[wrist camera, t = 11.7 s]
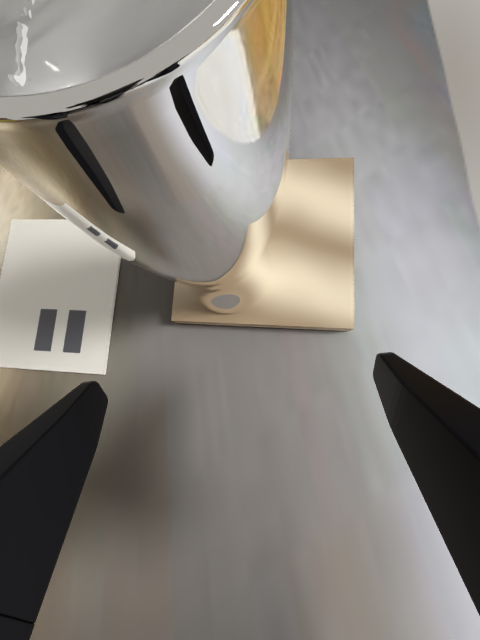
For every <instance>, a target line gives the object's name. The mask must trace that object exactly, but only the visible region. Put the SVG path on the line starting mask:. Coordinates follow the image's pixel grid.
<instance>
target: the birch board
mask: <svg viewBox="0 0 480 640" xmlns="http://www.w3.org/2000/svg"><path fill="white" fill-rule="evenodd" d="M266 246H267V248H268V250H269V253H270V256H271V259H272V277H271V281H270V284H269V286H268V288H267V290H266V292H265V293H264V295H263V296H262V297H261V298H260V299H259V300H258V301H257V302H256V303H255V304H254V305H252V306H251V307H249V308H247V309H245V310H243V311H240V312H236V313H229V314H223V313H216V312H212V311H210V310H207V309H205V308H204V307H202V306H201V305H199V304H198V303H197V302H196V301H195V300H194V299H193V298H192V296H191V295H190V293H189V292H188V290H187V288H186V286H185V285H184V284H181V283H177V282H175V286H174V296H173V306H172V316H171V321H173V322H176V323H185V324H207V325H229V326H251V327H272V328H294V329H316V330H337V331H350V330H353V329H354V158H325V159H291V160H288V166H287V174H286V182H285V188H284V192H283V196H282V200H281V203H280V207H279V211H278V215H277V218H276V221H275V224H274V227H273V229H272V232H271V235H270V238H269V240H268V243H267V245H266Z"/></svg>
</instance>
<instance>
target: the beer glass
mask: <svg viewBox="0 0 480 640" xmlns="http://www.w3.org/2000/svg"><path fill="white" fill-rule="evenodd" d="M292 97H293V5H292V0H0V165H1V166H2V167H4V168H5V169H6V170H7V171H8V172H9V173H11V174H12V175H13V176H14V177H15V178H16V179H18V180H19V181H20V182H21V183H22V184H24V185H25V186H26V187H27V188H29V189H30V190H31V191H32V192H33V193H35V194H36V195H37V196H38V197H39V198H41V199H42V200H43V201H44V202H46V203H47V204H48V205H49V206H50V207H52V208H53V209H54V210H55V211H57V212H58V213H59V214H60V215H62V216H63V217H64V218H66V219H67V220H68V221H70V222H71V223H72V224H74V225H75V226H76V227H78V228H79V229H80V230H82V231H83V232H84V233H86V234H87V235H88V236H90V237H91V238H92V239H94V240H95V241H96V242H98V243H99V244H101V245H103V246H104V247H106V248H107V249H109V250H111V251H112V252H114V253H115V254H117V255H118V256H120V257H122V258H123V259H125V260H126V261H128V262H130V263H132V264H134V265H136V266H138V267H140V268H142V269H145V270H147V271H149V272H151V273H153V274H156V275H158V276H160V277H163V278H166V279H169V280H172V281H175V282H177V283H181V284H184V285H185V286H186V288H187V290H188V292H189V293H190V295H191V296H192V298H193V299H194V300H195V301H196V302H197V303H198V304H199V305H201V306H202V307H204V308H205V309H207V310H210V311H212V312H216V313H223V314H229V313H236V312H240V311H243V310H245V309H247V308H249V307H251V306H252V305H254V304H255V303H256V302H257V301H258V300H259V299H260V298H261V297H262V296H263V295H264V293H265V292H266V290H267V288H268V286H269V284H270V281H271V277H272V259H271V256H270V253H269V250H268V248H267V246H266V245H267V243H268V240H269V238H270V235H271V232H272V229H273V227H274V224H275V221H276V218H277V215H278V211H279V207H280V203H281V200H282V196H283V192H284V188H285V182H286V174H287V166H288V158H289V151H290V138H291V118H292Z"/></svg>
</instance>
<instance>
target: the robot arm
mask: <svg viewBox="0 0 480 640" xmlns="http://www.w3.org/2000/svg"><path fill="white" fill-rule="evenodd" d="M373 378H374V381H375V384H376V387H377V390H378V393H379V396H380V399H381V402H382V405H383V408H384V411H385V413H386V416H387V419H388V422H389V425H390V427H391V429H392V432H393V434H394V436H395V438H396V440H397V442H398V445H399V447H400V449H401V451H402V453H403V455H404V457H405V459H406V461H407V464H408V466H409V468H410V470H411V472H412V474H413V476H414V478H415V480H416V483H417V485H418V487H419V489H420V491H421V493H422V495H423V497H424V499H425V501H426V504H427V506H428V508H429V510H430V512H431V514H432V516H433V518H434V520H435V523H436V525H437V527H438V529H439V531H440V533H441V535H442V537H443V539H444V542H445V544H446V546H447V548H448V550H449V552H450V554H451V556H452V558H453V560H454V563H455V565H456V567H457V569H458V571H459V573H460V575H461V577H462V579H463V582H464V584H465V586H466V588H467V590H468V592H469V594H470V596H471V598H472V601H473V603H474V605H475V607H476V609H477V611H478V613H479V615H480V408H478V407H477V406H475V405H474V404H472V403H471V402H469V401H468V400H466V399H464V398H463V397H461V396H460V395H458V394H457V393H455V392H454V391H452V390H450V389H449V388H447V387H446V386H444V385H443V384H441V383H440V382H438V381H436V380H435V379H433V378H432V377H430V376H429V375H427V374H426V373H424V372H422V371H421V370H419V369H418V368H416V367H415V366H413V365H412V364H410V363H408V362H407V361H405V360H404V359H402V358H401V357H399V356H398V355H396V354H394V353H392V352H388V353H379V354H377V356H376V360H375V365H374V370H373ZM107 404H108V398H107V396H106V394H105V393H104V391H103V390H102V388H101V387H100V385H99V384H98V383H97V382H96V381H90V382H83V383H81V384H80V385H79V386H77V387H76V388H75V389H74V390H72V391H71V392H70V393H68V394H67V395H66V396H65V397H63V398H62V399H61V400H59V401H58V402H57V403H56V404H54V405H53V406H52V407H50V408H49V409H48V410H47V411H45V412H44V413H43V414H41V415H40V416H39V417H38V418H36V419H35V420H34V421H33V422H31V423H30V424H29V425H27V426H26V427H25V428H24V429H22V430H21V431H20V432H18V433H17V434H16V435H15V436H13V437H12V438H11V439H9V440H8V441H7V442H6V443H4V444H3V445H2V446H0V640H29V639H30V636H31V633H32V631H33V628H34V623H35V621H36V619H37V616H38V613H39V610H40V607H41V605H42V602H43V599H44V596H45V593H46V590H47V588H48V585H49V582H50V579H51V576H52V573H53V571H54V568H55V565H56V562H57V559H58V556H59V554H60V551H61V548H62V545H63V542H64V539H65V537H66V534H67V531H68V528H69V525H70V522H71V520H72V517H73V514H74V511H75V508H76V505H77V503H78V500H79V497H80V494H81V491H82V488H83V486H84V483H85V480H86V477H87V474H88V471H89V469H90V466H91V463H92V460H93V457H94V454H95V451H96V448H97V445H98V441H99V437H100V433H101V429H102V425H103V421H104V417H105V413H106V409H107Z"/></svg>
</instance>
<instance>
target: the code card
mask: <svg viewBox="0 0 480 640" xmlns="http://www.w3.org/2000/svg"><path fill="white" fill-rule="evenodd" d="M120 263H121V257H120V256H118V255H117V254H115V253H114V252H112V251H111V250H109V249H107V248H106V247H104V246H103V245H101V244H99V243H98V242H96V241H95V240H94V239H92V238H91V237H90V236H88V235H87V234H86V233H84V232H83V231H82V230H80V229H79V228H78V227H76V226H75V225H74V224H72V223H71V222H70V221H68V220H12V221H11V226H10V231H9V236H8V241H7V246H6V251H5V256H4V261H3V266H2V271H1V276H0V367H7V368H21V369H35V370H48V371H62V372H76V373H90V374H103V375H105V374H106V368H107V360H108V353H109V345H110V338H111V330H112V323H113V315H114V308H115V300H116V293H117V285H118V278H119V270H120Z"/></svg>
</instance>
